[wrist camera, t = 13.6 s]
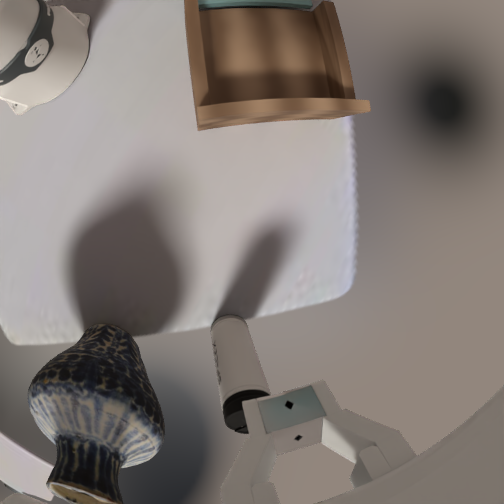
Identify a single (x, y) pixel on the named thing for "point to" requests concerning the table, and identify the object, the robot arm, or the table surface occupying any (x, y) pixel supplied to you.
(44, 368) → the blue patterned vase
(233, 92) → the wooden drawer
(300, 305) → the table surface
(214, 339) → the travel mug
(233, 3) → the teal flat panel
